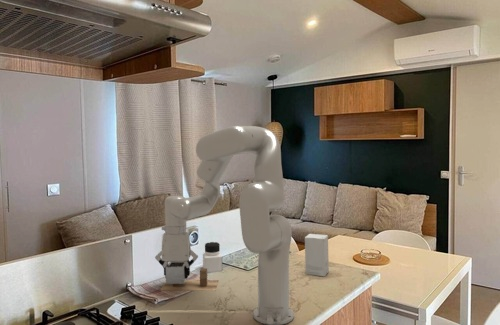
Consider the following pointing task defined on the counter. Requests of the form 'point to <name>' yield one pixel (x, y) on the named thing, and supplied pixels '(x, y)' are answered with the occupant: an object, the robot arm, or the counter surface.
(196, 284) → the peg board
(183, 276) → the grey open box
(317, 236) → the skincare box
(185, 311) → the counter surface
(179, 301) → the counter surface
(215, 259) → the medicine bottle
